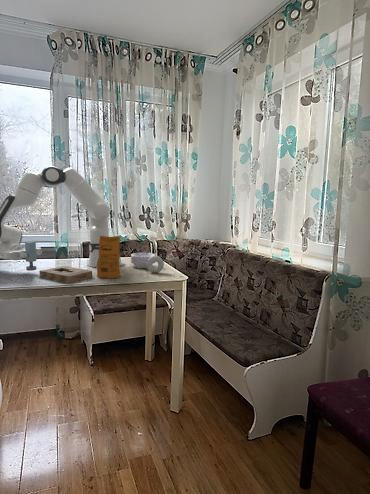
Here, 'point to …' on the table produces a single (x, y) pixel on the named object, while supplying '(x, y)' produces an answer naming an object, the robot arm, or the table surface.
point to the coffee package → (108, 257)
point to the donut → (153, 259)
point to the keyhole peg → (30, 255)
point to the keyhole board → (65, 274)
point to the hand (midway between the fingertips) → (32, 254)
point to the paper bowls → (141, 259)
